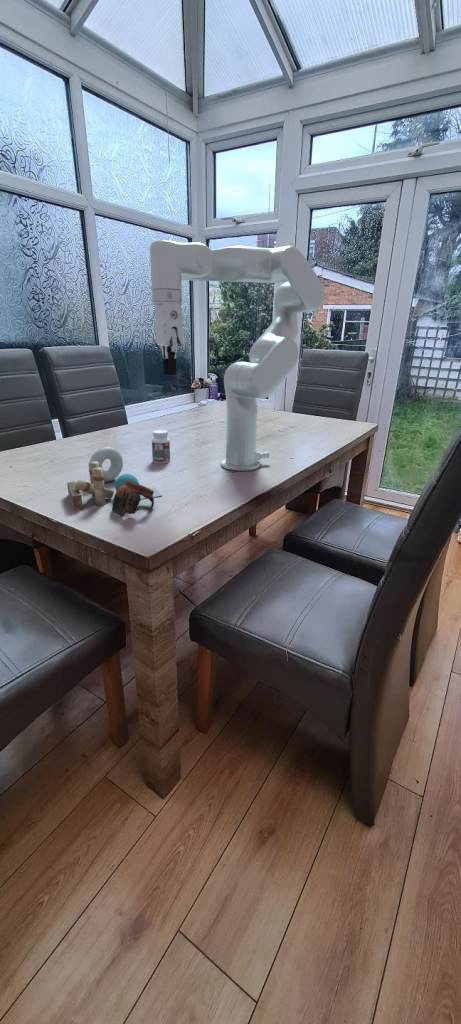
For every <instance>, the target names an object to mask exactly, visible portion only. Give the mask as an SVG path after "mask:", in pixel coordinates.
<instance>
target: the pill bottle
mask: <svg viewBox="0 0 461 1024" xmlns="http://www.w3.org/2000/svg"><path fill="white" fill-rule="evenodd" d="M152 436H153V438H152V439H151V452H152V453H151V454H152V462H153V463H155V464H160V465H161V464H167V463H170V461H171V447H170V446H171V443H170V439H169V437H168V436H169V433H168V430H163V429H157V430H153V431H152Z"/></svg>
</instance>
